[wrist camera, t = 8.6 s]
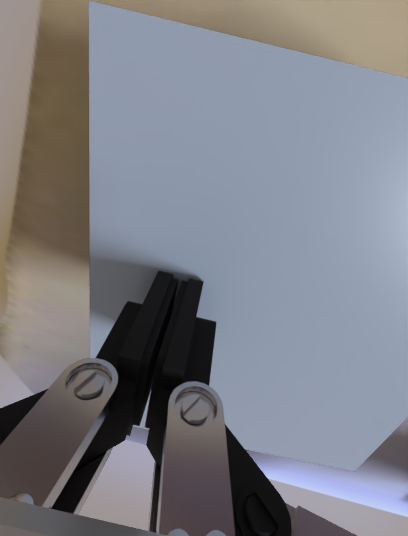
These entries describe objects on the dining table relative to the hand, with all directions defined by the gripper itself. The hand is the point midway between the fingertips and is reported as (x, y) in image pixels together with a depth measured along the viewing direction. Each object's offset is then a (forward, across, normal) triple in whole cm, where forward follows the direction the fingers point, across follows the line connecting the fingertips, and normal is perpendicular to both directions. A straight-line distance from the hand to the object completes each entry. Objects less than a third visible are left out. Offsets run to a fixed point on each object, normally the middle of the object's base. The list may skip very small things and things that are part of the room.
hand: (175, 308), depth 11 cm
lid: (+1, -4, 0) cm, 4 cm away
